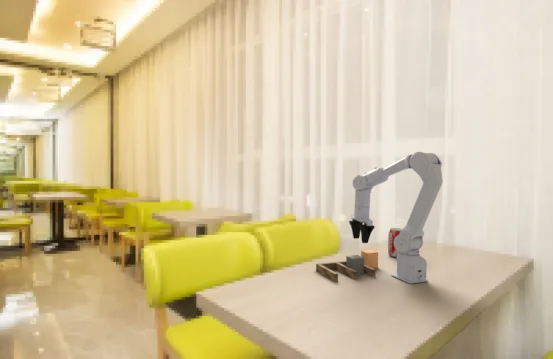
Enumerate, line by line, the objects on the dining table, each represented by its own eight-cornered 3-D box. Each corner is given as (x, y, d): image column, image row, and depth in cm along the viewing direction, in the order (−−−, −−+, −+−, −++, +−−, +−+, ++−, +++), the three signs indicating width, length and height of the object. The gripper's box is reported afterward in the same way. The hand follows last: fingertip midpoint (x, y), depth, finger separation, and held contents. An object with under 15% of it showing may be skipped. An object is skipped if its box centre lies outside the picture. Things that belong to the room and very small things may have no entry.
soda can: (402, 259, 142) (402, 231, 142) (385, 256, 146) (386, 229, 146) (406, 255, 148) (407, 229, 147) (390, 253, 152) (391, 227, 152)
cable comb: (375, 276, 117) (375, 269, 117) (334, 281, 111) (335, 274, 111) (353, 266, 129) (353, 260, 129) (316, 270, 123) (316, 263, 123)
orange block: (377, 267, 129) (378, 252, 128) (367, 268, 127) (367, 253, 127) (371, 264, 132) (371, 249, 132) (360, 266, 130) (361, 250, 130)
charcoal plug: (364, 274, 120) (364, 257, 120) (352, 275, 118) (352, 258, 118) (357, 270, 124) (357, 254, 124) (346, 272, 122) (346, 255, 122)
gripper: (345, 203, 136) (343, 236, 137) (360, 208, 122) (359, 245, 123) (361, 204, 138) (359, 236, 138) (378, 208, 124) (376, 245, 124)
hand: (360, 240), depth 131 cm, fingers open, 7 cm apart
